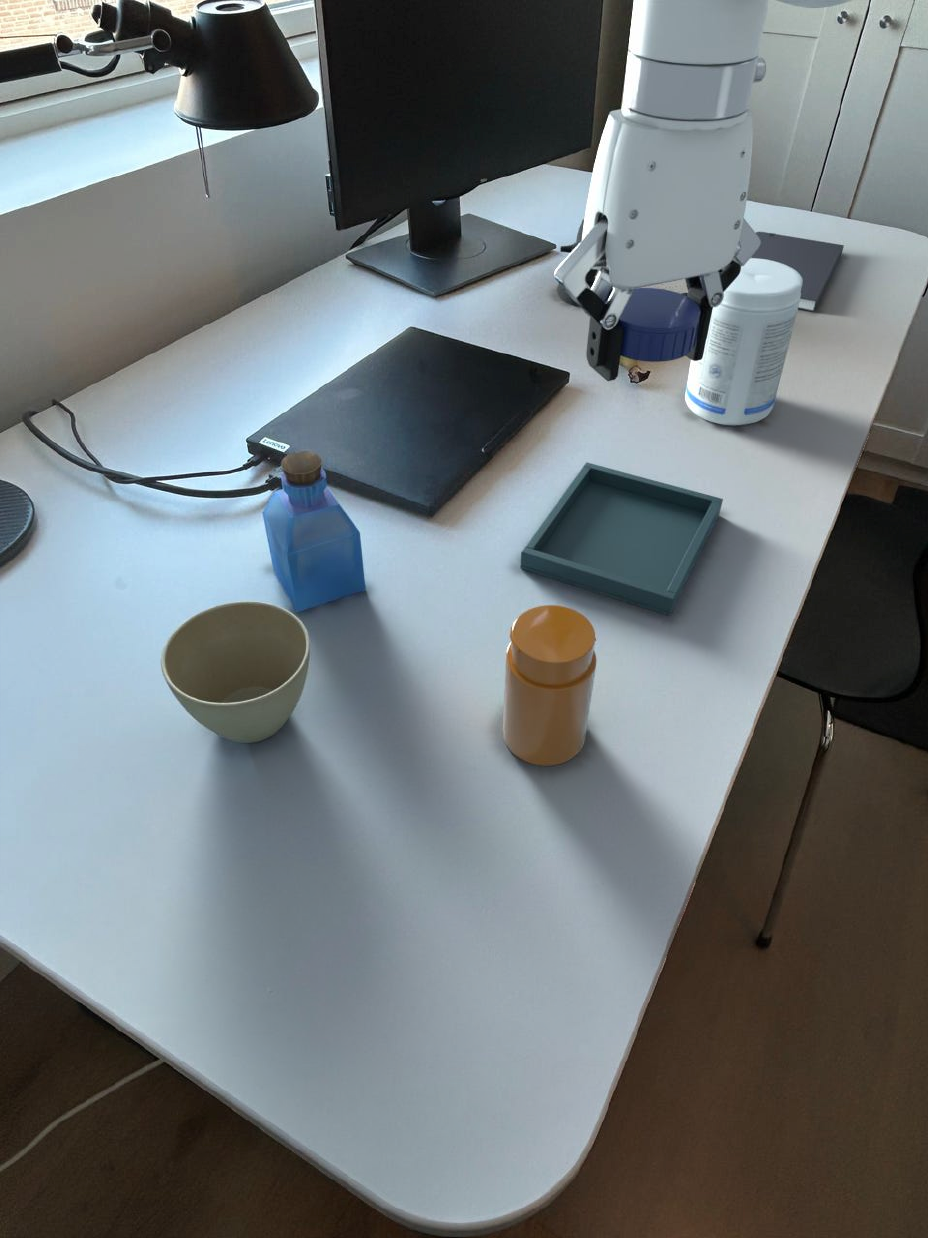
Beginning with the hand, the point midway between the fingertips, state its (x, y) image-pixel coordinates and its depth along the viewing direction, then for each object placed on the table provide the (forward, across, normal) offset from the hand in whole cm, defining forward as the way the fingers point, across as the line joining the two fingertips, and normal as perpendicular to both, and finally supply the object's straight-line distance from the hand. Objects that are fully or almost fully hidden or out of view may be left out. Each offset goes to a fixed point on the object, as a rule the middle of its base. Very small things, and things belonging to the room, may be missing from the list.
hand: (644, 360), depth 65 cm
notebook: (+19, -54, -45) cm, 73 cm away
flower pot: (+19, +34, +5) cm, 39 cm away
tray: (+19, -2, -2) cm, 19 cm away
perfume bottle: (+19, +25, -8) cm, 33 cm away
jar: (+19, +15, +15) cm, 28 cm away
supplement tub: (+19, -25, -18) cm, 36 cm away
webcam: (+19, -25, -50) cm, 59 cm away
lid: (-4, 0, 0) cm, 4 cm away
